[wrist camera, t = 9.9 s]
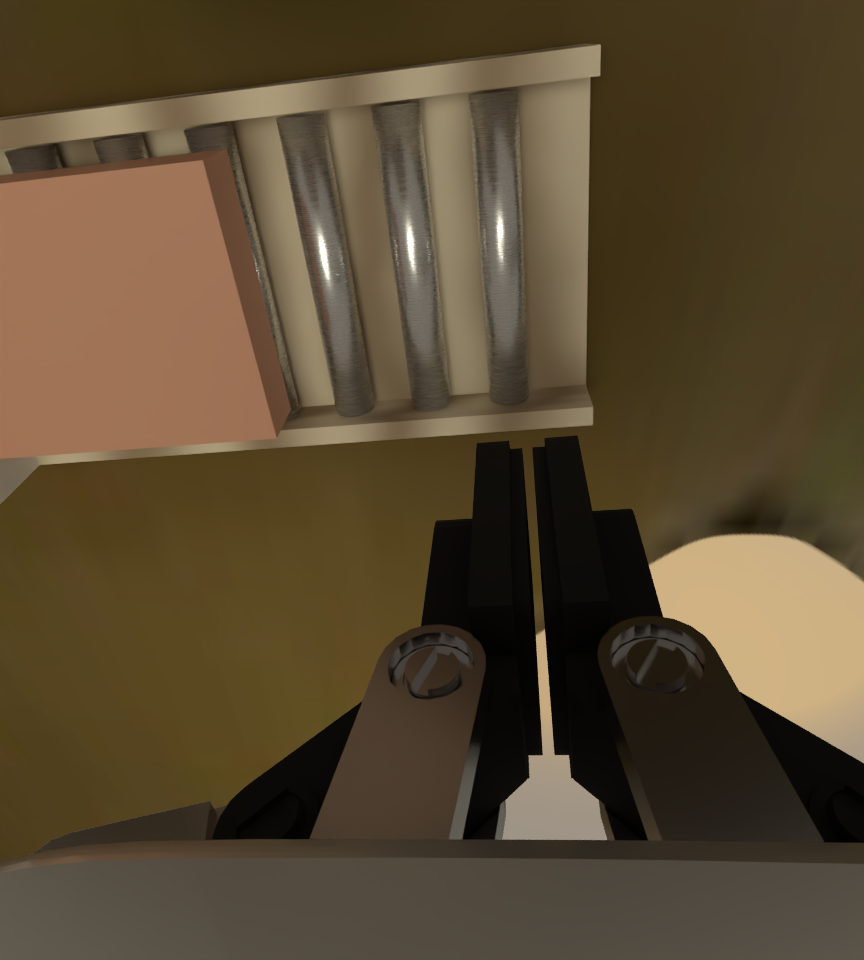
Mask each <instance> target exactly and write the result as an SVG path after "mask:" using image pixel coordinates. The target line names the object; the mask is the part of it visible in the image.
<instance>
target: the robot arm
mask: <svg viewBox="0 0 864 960" xmlns="http://www.w3.org/2000/svg"><path fill="white" fill-rule="evenodd" d="M533 463H534V478H535V492H536V507H537V522H538V537H539V552H540V566H541V581H542V594H543V608H544V621H545V634H546V647H547V660H548V673H549V686H550V699H551V713H552V726H553V740H554V751H555V752H554V753H555V755H569V759H570V768H571V778H573V779H574V780H575V781H576V782H578V783H579V784H580V785H581V786H582V787H584V788H585V789H586V790H587V791H588V792H590V793H591V794H592V795H593V796H595V797H596V798H597V799H598V800H599V805H600V814H601V819H602V822H603V825H604V829H605V833H606V836H607V840H502V837H503V830H504V823H505V817H506V807H505V806H506V805H505V800H506V799H507V798H508V797H509V796H510V795H511V794H512V793H513V792H514V791H515V790H516V789H517V788H518V787H519V786H520V785H522V784H523V783H524V782H525V781H526V780H527V778H529V757H528V755H543V753H542V737H541V719H540V703H539V685H538V669H537V651H536V634H535V617H534V600H533V584H532V570H531V557H530V544H529V531H528V518H527V505H526V492H525V479H524V466H523V453H522V448H520V449H510V445H509V441H501V442H488V443H477V449H476V466H475V484H474V501H473V518H472V519H457V520H441V521H436V523H435V527H434V534H433V541H432V549H431V556H430V564H429V571H428V579H427V586H426V593H425V601H424V608H423V616H422V623H421V627H418V628H414V629H411V630H409V631H407V632H405V633H404V634H402V635H400V636H398V637H396V638H395V639H394V640H393V641H392V642H391V643H390V644H389V645H388V646H387V647H386V648H385V650H384V651H383V653H382V655H381V656H380V658H379V660H378V662H377V665H376V668H375V670H374V673H373V675H372V678H371V680H370V683H369V686H368V688H367V691H366V693H365V696H364V699H363V701H362V702H361V703H359V704H358V705H356V706H355V707H354V708H352V709H351V710H350V711H348V712H347V713H346V714H344V715H343V716H341V717H340V718H339V719H337V720H336V721H335V722H333V723H332V724H331V725H329V726H328V727H326V728H325V729H324V730H322V731H321V732H320V733H318V734H317V735H315V736H314V737H313V738H311V739H310V740H309V741H307V742H306V743H305V744H303V745H302V746H300V747H299V748H298V749H296V750H295V751H294V752H292V753H291V754H290V755H288V756H287V757H285V758H284V759H283V760H281V761H280V762H279V763H277V764H276V765H275V766H273V767H272V768H270V769H269V770H268V771H266V772H265V773H264V774H262V775H261V776H260V777H258V778H257V779H255V780H254V781H253V782H251V783H250V784H249V785H247V786H246V787H245V788H244V789H243V790H241V791H240V792H239V793H238V794H237V795H236V796H235V797H234V798H233V799H232V800H231V801H230V802H229V804H228V805H227V806H223V807H219V808H215V809H214V807H213V805H212V803H211V802H210V801H208V802H203V803H199V804H194V805H190V806H186V807H181V808H177V809H172V810H168V811H164V812H159V813H155V814H150V815H146V816H142V817H137V818H133V819H128V820H124V821H120V822H115V823H111V824H107V825H102V826H98V827H93V828H89V829H85V830H80V831H76V832H71V833H69V834H66V835H64V836H61V837H58V838H56V839H53V840H51V841H50V842H48V843H47V844H45V845H44V846H42V847H41V848H40V849H38V850H37V851H35V852H34V853H33V854H30V855H26V856H22V857H17V858H13V859H9V860H5V861H1V862H0V960H864V763H862V762H860V761H859V760H857V759H855V758H853V757H852V756H850V755H848V754H846V753H845V752H843V751H841V750H840V749H838V748H836V747H834V746H832V745H831V744H829V743H828V742H826V741H824V740H822V739H821V738H819V737H817V736H815V735H814V734H812V733H810V732H809V731H807V730H805V729H803V728H801V727H800V726H798V725H796V724H795V723H793V722H791V721H789V720H788V719H786V718H784V717H782V716H781V715H779V714H777V713H776V712H774V711H772V710H770V709H769V708H767V707H765V706H763V705H762V704H760V703H758V702H757V701H754V700H753V699H751V698H750V697H748V696H746V695H744V694H743V693H741V692H739V690H738V688H737V687H736V685H735V683H734V682H733V680H732V678H731V676H730V674H729V673H728V671H727V669H726V667H725V665H724V664H723V662H722V660H721V658H720V657H719V655H718V653H717V651H716V649H715V648H714V647H713V646H712V644H711V643H710V642H709V641H708V640H707V638H706V637H705V636H704V635H703V634H701V633H700V632H698V631H697V630H696V629H694V628H693V627H691V626H689V625H687V624H684V623H682V622H680V621H677V620H675V619H670V618H664V617H663V615H662V612H661V608H660V604H659V601H658V597H657V594H656V590H655V587H654V583H653V579H652V576H651V572H650V569H649V565H648V562H647V558H646V554H645V551H644V547H643V544H642V540H641V537H640V533H639V530H638V526H637V522H636V519H635V516H634V513H633V510H632V509H620V510H603V511H592V507H591V502H590V497H589V492H588V487H587V482H586V476H585V471H584V466H583V461H582V456H581V451H580V445H579V440H578V436H566V437H553V438H545V447H533Z"/></svg>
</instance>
